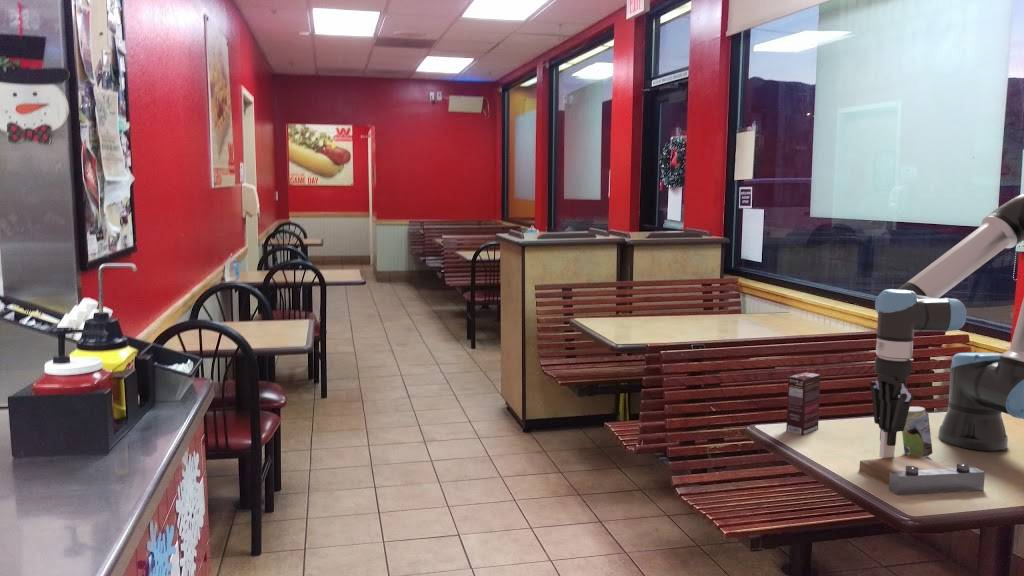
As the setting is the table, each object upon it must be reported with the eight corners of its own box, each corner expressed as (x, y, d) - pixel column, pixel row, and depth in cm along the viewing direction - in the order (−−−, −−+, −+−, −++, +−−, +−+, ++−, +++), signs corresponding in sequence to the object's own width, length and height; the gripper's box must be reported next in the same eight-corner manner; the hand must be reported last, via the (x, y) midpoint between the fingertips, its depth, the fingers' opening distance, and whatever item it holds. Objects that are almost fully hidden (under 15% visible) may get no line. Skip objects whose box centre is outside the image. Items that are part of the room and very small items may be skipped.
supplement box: (801, 429, 207) (804, 371, 206) (818, 433, 204) (821, 374, 202) (784, 435, 202) (787, 376, 200) (801, 440, 198) (804, 379, 196)
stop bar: (973, 484, 167) (974, 461, 167) (983, 490, 164) (985, 466, 164) (888, 489, 164) (890, 466, 164) (897, 495, 161) (899, 471, 161)
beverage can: (935, 461, 182) (939, 412, 181) (902, 459, 184) (905, 410, 182) (927, 453, 188) (930, 405, 187) (894, 451, 190) (897, 403, 188)
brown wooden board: (916, 466, 180) (916, 454, 180) (951, 481, 171) (952, 468, 170) (859, 473, 176) (859, 460, 175) (892, 489, 166) (893, 475, 166)
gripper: (861, 352, 182) (855, 449, 185) (896, 363, 169) (889, 467, 172) (890, 351, 183) (884, 448, 186) (927, 363, 170) (920, 466, 173)
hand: (886, 457), depth 179 cm, fingers closed
